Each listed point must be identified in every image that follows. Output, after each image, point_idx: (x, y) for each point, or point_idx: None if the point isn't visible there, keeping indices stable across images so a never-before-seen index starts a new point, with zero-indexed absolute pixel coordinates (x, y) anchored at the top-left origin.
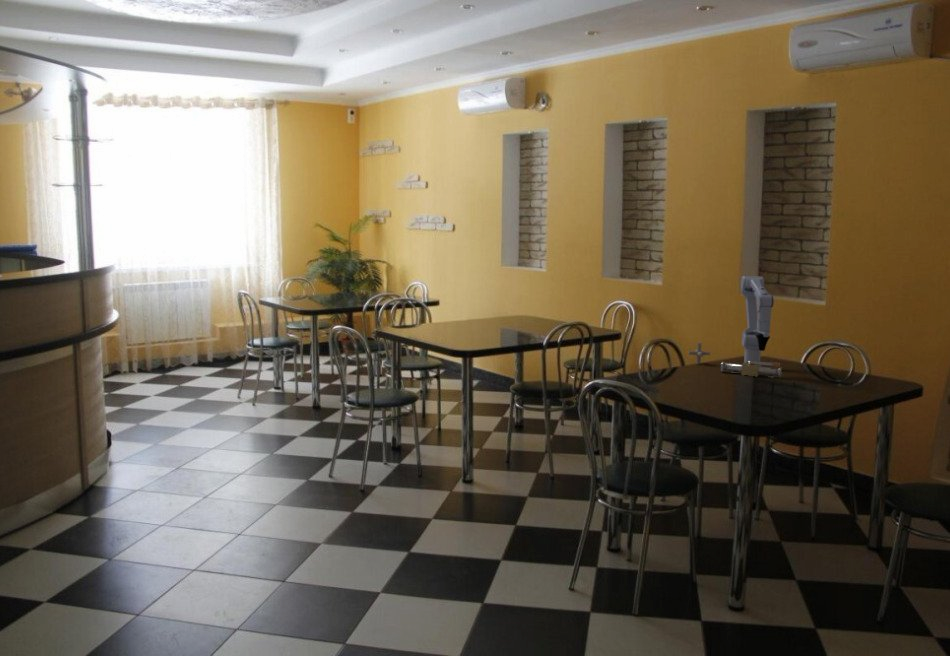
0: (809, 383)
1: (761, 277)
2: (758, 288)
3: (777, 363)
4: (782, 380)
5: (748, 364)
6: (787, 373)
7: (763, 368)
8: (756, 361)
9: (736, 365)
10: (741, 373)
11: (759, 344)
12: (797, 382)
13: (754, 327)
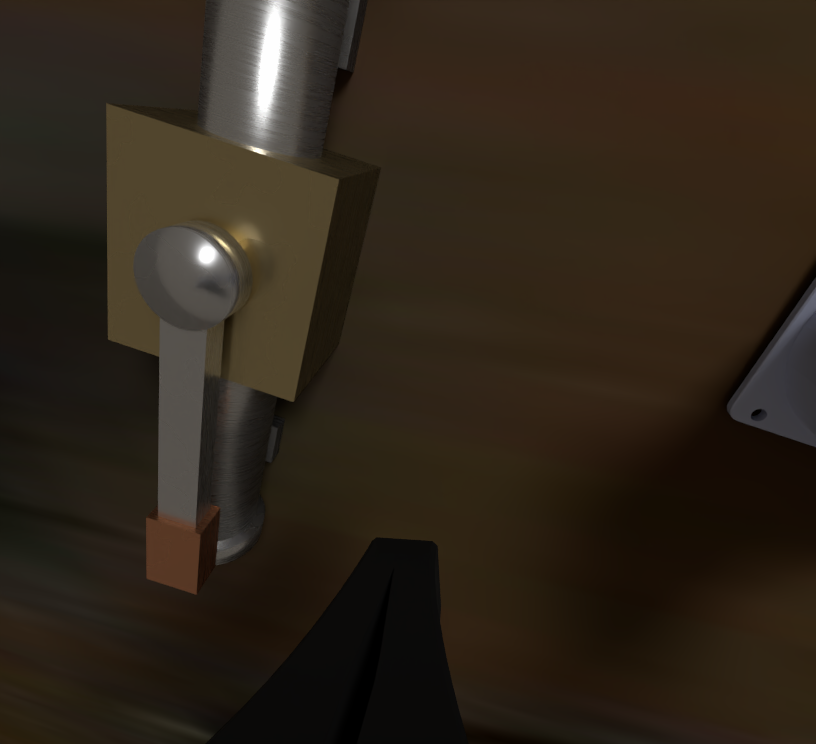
0: (133, 610)
1: None
2: None
3: (152, 563)
4: (143, 477)
5: (154, 218)
6: (482, 592)
7: None
8: (201, 356)
9: (210, 11)
10: (195, 110)
11: (299, 648)
12: (125, 554)
13: None
